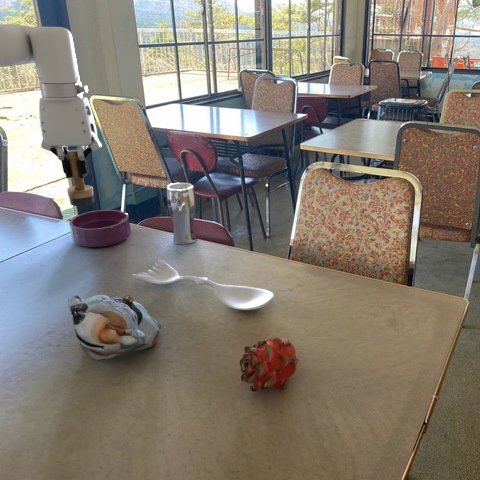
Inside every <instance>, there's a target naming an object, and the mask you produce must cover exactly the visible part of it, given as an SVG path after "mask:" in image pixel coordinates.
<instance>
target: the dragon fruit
mask: <svg viewBox="0 0 480 480" xmlns="http://www.w3.org/2000/svg"><path fill="white" fill-rule="evenodd" d="M243 352H244V353H243V354H242V358H241V359H240V360H239V366H240V372H241V376H240V380H241V381H242V382H245V383H246V384H253V385H250V386H249V390H250V391H251V392H253V393H257V392H259V391H264V390H267V389H272V388H273V389H275V390H278V389H279V390H280V391H282V390H284V389H285V387H286V386H285V383H284V382H285V381H287V380H289V379H290V378H291V377H292V376H293V375H294V374H295V372H296V370H297V365H298V362H299V358H297V356H296V348H295V346H294V344H293V342H292V341H290V340H289V339H287V338H285V337H283V338H280V337H274V338H273V337H272V336H270V337H268V338H266V339H261V340H258V341H257V343H256V344H253V345H252V346H251V345H245V346H244V348H243Z"/></svg>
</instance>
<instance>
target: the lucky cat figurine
mask: <svg viewBox="0 0 480 480" xmlns="http://www.w3.org/2000/svg"><path fill="white" fill-rule="evenodd" d="M67 302H68V309H69V311H70V312H71V313H70V314H71V316H72V324H73V329H74V332H75V336H76V339H77V341H78V342H79V346H80V348H81V350H82V351H83V352H85V353H86V354H87V355H89V356H90V357H91V359H92V360H94V361H100V360H104V359H105V360H109V359H112V358H114V357H116V356H118V355H121V354H125V353H129V352H134V351H139V350H144V349H148V348H150V347H154V346H156V344H157V341H158V339H159V335H160V330H161V329H162V324H161V323H159V322H158V321H157V320H156V319H155V318H154V317H152V316H151V315H150V313H149V312H148V310H147V308H145V307H144V305H142V304H141V303H139V302H137V301H135V300H134V297H132V296H131V295H129V294H125V295H124V296H123V297H122V298H121V297H113V296H108V295H106V294H95V295H92V296H90V297H87V298H81V297H80V296H79V295H73V296H71V297H70V298H69V299H67Z"/></svg>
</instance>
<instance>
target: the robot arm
mask: <svg viewBox="0 0 480 480" xmlns="http://www.w3.org/2000/svg"><path fill="white" fill-rule="evenodd" d="M76 57H77V56H76V53H75V46H74V41H73V35H72V33H71V31H70V30H69V29H68V28H66V27H62V26H28V25H22V24H10V23H9V24H8V23H7V24H4V23H0V68H7V67H13V66H21V65H29V64H35V69H36V74H37V78H38V84H39V89H40V93H41V97H39V103H38V104H39V106H38V111H39V124H40V130H41V136H42V140H41V145H40V147H41V149H43V150H46V151H48V152H51V153H52V154H54V155H55V157H57V158H58V160H59V161H60V162H61V166H62V172H63V174H65V178H66V179H70V178H72V173H71V168H70V163H69V158H68V153H67V151H69V147H75V148H76V150H77V153H78V159H79V160H78V161H77V166H78V172H79V177H80V178H84V179H85V178H86V177H87V176H89V173H90V167H89V161H88V158H89V157H90V155H91V154H92V153H93V152H96V151H97V150H99V149H101V148H102V147H103V145H102V143H101V142H100V140H99V136H98V135H99V134H98V129H97V126H96V121H95V118H94V114H93V111H92V108H91V105H90V103H89V99H88V98H87V97H88V96H87V97H86V96H83V95H84V93H88V92H89V89H88V86H87V85H82V82H81V81H80V75H79V70H78V63H77V58H76Z"/></svg>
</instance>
